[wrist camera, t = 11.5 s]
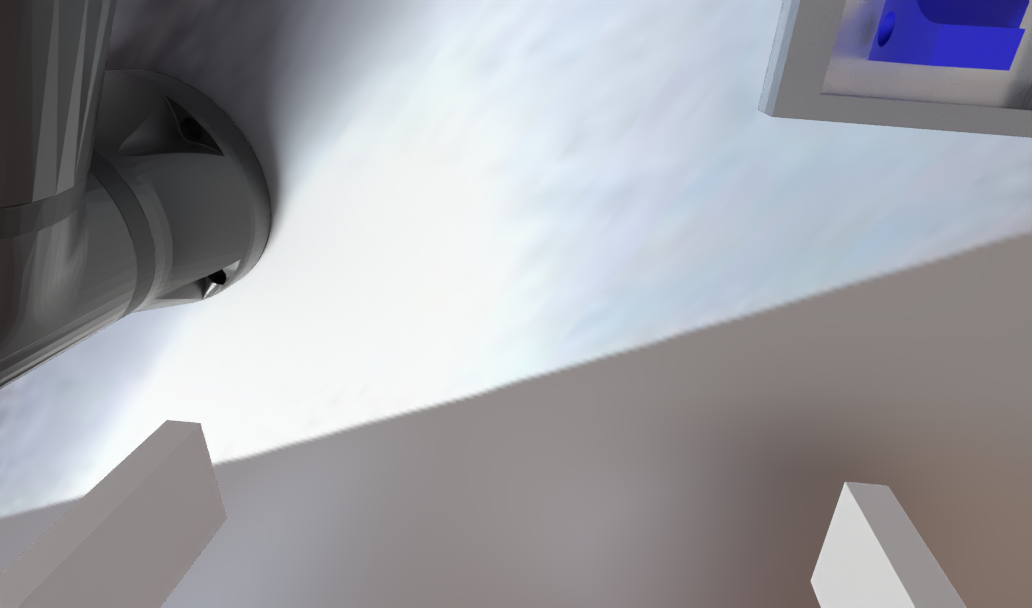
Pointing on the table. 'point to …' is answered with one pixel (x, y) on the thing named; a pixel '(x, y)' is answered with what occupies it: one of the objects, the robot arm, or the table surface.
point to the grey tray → (886, 77)
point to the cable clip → (950, 33)
